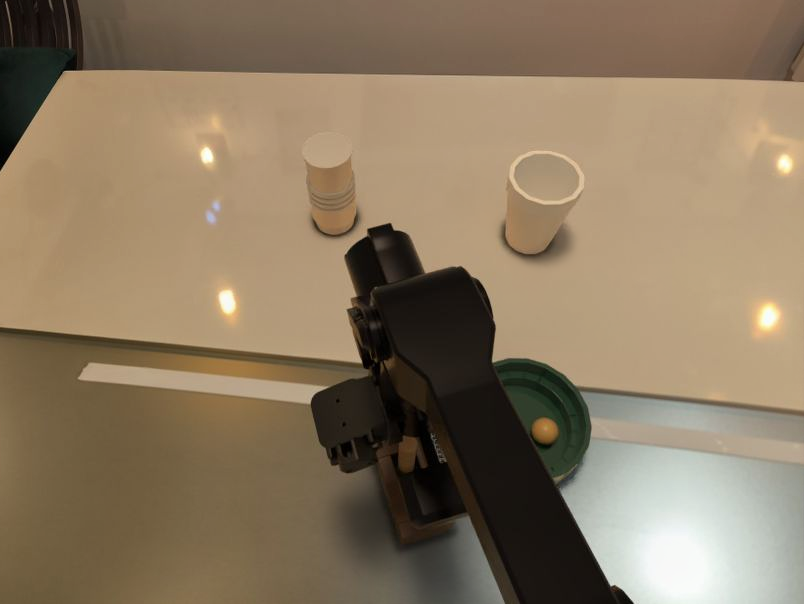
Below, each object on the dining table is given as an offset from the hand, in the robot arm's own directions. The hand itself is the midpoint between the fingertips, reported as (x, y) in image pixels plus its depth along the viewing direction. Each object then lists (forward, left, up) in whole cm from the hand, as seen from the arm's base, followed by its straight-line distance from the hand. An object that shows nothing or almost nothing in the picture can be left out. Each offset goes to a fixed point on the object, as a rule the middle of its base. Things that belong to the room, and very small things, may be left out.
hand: (408, 434), depth 60 cm
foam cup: (+27, -28, -14) cm, 41 cm away
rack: (0, 0, -14) cm, 14 cm away
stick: (0, 0, -14) cm, 14 cm away
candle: (+39, -2, -14) cm, 41 cm away
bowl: (+1, -15, -14) cm, 20 cm away
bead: (0, -17, -12) cm, 20 cm away
